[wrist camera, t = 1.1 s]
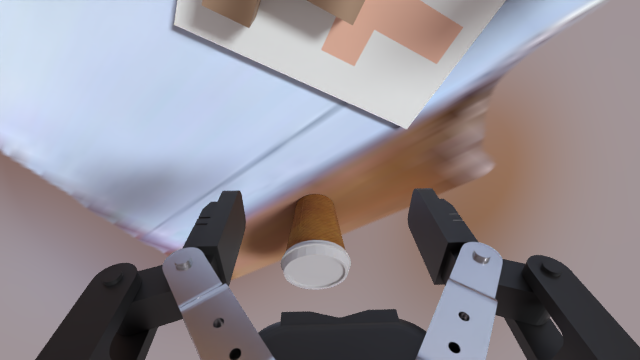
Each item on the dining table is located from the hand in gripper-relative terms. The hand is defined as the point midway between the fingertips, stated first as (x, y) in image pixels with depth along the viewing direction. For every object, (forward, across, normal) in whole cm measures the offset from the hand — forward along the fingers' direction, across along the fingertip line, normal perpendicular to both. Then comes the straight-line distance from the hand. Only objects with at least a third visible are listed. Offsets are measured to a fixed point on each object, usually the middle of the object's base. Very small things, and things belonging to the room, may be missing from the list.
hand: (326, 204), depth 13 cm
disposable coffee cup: (+27, 0, +21) cm, 34 cm away
